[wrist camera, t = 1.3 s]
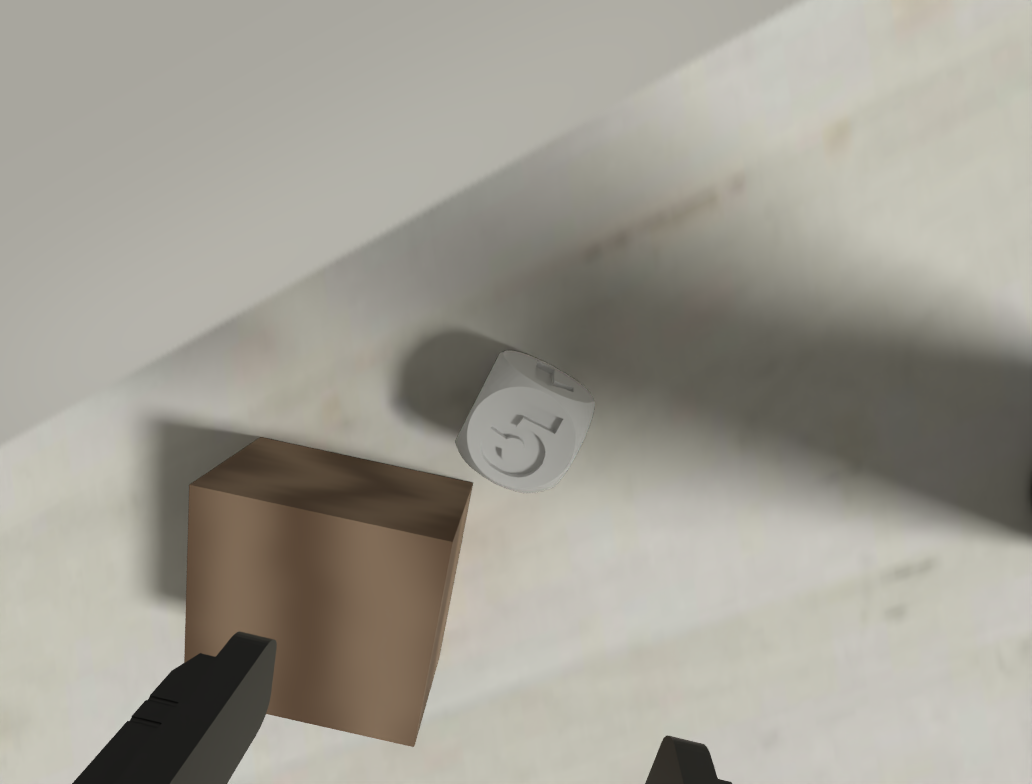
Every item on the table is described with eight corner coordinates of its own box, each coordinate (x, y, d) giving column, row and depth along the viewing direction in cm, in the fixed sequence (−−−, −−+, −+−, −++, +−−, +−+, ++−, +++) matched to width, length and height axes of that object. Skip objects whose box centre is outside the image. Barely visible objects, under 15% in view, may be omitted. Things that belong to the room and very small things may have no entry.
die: (592, 385, 28) (599, 417, 23) (547, 464, 29) (545, 509, 24) (505, 341, 27) (494, 363, 23) (464, 423, 29) (445, 460, 24)
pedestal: (473, 483, 30) (452, 542, 24) (439, 658, 33) (414, 746, 27) (260, 437, 30) (189, 484, 24) (248, 616, 33) (183, 695, 27)
